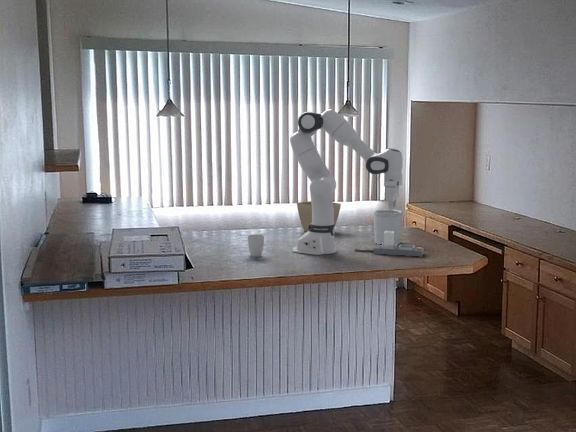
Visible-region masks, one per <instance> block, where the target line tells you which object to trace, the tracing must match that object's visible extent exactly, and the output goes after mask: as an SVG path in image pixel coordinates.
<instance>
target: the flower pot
mask: <svg viewBox="0 0 576 432" xmlns="http://www.w3.org/2000/svg"><path fill="white" fill-rule="evenodd" d="M341 205H342V204H341V203H338V202H333V208H334V227H335V228H336V224H337V222H338V218H339V215H340V210H341ZM296 207H297V213H298V217H299V220H300V221H299V222H300V225H301V227H302V229H303V231H304V232H308V231H309V230H308V225H309V224H310V223H312V204H311V200H310V201H300V202H296Z"/></svg>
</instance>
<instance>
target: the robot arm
mask: <svg viewBox="0 0 576 432" xmlns="http://www.w3.org/2000/svg"><path fill="white" fill-rule="evenodd" d="M297 126H298V130H297V131H296V132H294V133H293V134H292V135H291V136H290V139H289V141H290V142H289V143H290V146H291V148H292V151H293V154H294V156H295V158H296V160H297V161H298V164H299V165H300V168H301V169H302V171H303V173H304V174H305V175H306V177H307V178H308V179H309V180H310V182H311V183H310V184H309V192H310V201H311V204H312V223H310V224H309V225H308V230H309V231H305V232H304V233H303V234H302V235H300V237H298V238H297V243H296V246H294V247H293V248H292V250H291V251H292V253H296V254H297V253H299V254H307V255H314V256H315V255H317V256H321V255H330V254H335V253H336V252H337V249H336V243H335V233H336V231H335V230H336V229H335V228H336V226H335V227H334V208H333V203H334V201H333V200H334V199H333V193H335V190H336V189H337V181H336V179H335V178H334V176H333V175H332V173H331V171H330V169H329V168H328V166H327V165H326V163H324V161H323V158H321V157H322V156H321V155H320V153H319V151H318V150H317V147H316V145H315V143H314V142H313V138H312V136H313V135H315V134H316V132H317V131H318V130H323V131H325V132H326V133H327V134H328V135H329V137H331V138H332V139H333V140H334V141H335V142H338V143H339V144H340V145H342V146H345V147H349V148H351V149H352V150H354V151H355V152H356V154H358V155H359V156H360V157H361V158H362V159H363V160H364V161H365V168H366V170H367V172H369V174H371V175H379V174H380V175H381V174H383V175H384V177H383V186H384V195H385V196H384V197H385V201H386V203H387V204H388V209H389V210H392V209H394V208H396V204H397V199H398V198H399V197H400V186H402V185H403V173H402V170H403V164H404V163H403V154H402V151H400V150H398V149H395V148H390V147H389V148H386V149H385V150H383V151H382V152H380V153H379V152H376V151H374V150H373V149H372V148H371V147H370V146H369V145H367V143H365V142H364V141H363V140H362V138H360V136H359V135H358V133H357V131H356V130H355V128H354V127H353V126H352V125H351V123H350V122H349V121H348V120H347V119H346V118H345V117H343V115H341V114H340V113H338V112H337V111H335V110H334V109H333V108H332V109H331V108H329V109H326V110H324V111H323V112H322V113H317V112H314V111H304V112H302V113H301V114H300V115H299V116H298V119H297Z"/></svg>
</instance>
